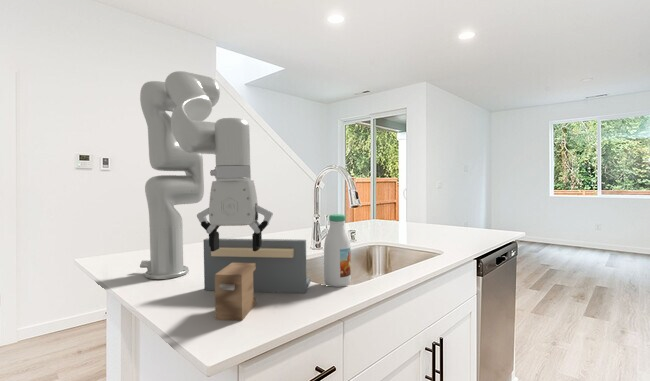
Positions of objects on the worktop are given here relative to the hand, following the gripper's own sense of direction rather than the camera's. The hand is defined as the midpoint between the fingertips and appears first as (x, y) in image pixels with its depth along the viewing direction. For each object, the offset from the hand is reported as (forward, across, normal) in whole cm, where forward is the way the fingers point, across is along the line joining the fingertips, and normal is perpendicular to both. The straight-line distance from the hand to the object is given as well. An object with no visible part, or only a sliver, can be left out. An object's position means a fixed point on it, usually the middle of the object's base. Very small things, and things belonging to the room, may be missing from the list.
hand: (235, 250), depth 76 cm
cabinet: (+14, -1, +1) cm, 15 cm away
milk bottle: (+15, +21, +24) cm, 35 cm away
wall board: (+14, -1, +19) cm, 23 cm away
